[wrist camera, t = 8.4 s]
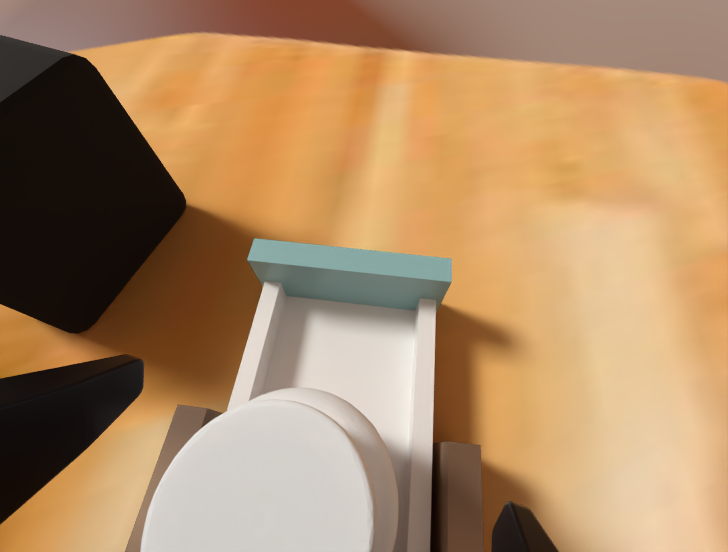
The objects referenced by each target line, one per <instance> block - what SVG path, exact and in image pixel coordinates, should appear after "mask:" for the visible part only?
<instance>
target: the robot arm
mask: <svg viewBox="0 0 728 552" xmlns="http://www.w3.org/2000/svg"><path fill="white" fill-rule="evenodd" d="M143 382H144V362H143V360H141V359H140V358H137V357H134V356H132V355H128V354H125V355H120V356H115V357H109V358H104V359H99V360H94V361H89V362H84V363H78V364H73V365H68V366H63V367H58V368H53V369H47V370H42V371H37V372H32V373H27V374H22V375H17V376H11V377H6V378H1V379H0V525H1V524H2V523H3V522H4V521H5V520H6V519H7V518H9V517H10V516H11V515H12V514H13V513H14V512H15V511H17V510H18V509H19V508H20V507H21V506H22V505H23V504H25V503H26V502H27V501H28V500H29V499H30V498H31V497H33V496H34V495H35V494H36V493H37V492H38V491H39V490H41V489H42V488H43V487H44V486H45V485H46V484H47V483H49V482H50V481H51V480H52V479H53V478H54V477H55V476H57V475H58V474H59V473H60V472H61V471H62V470H63V469H65V468H66V467H67V466H68V465H69V464H70V463H71V462H73V461H74V460H75V459H76V458H77V457H78V456H79V455H80V454H82V453H83V452H84V451H85V450H86V449H87V448H88V447H89V446H90V445H91V444H92V443H93V442H94V441H95V440H96V439H97V438H98V437H99V436H100V435H101V434H102V433H103V432H104V431H105V430H106V429H107V428H108V427H109V426H110V425H111V424H112V423H113V422H114V421H115V420H116V419H117V418H118V417H119V416H120V415H121V414H122V413H123V412H124V411H125V409H126V408H127V407H128V406H129V405H130V404H131V403H132V402H133V401H134V400H135V399H136V398H137V397H138V396H139V395H140V393H141V391H142V389H143ZM492 552H559V551H558V549H557V548H556V547H555V545H554V544H553V542H552V541H551V539H550V538H549V536H548V535H547V533H546V532H545V530H544V529H543V527H542V526H541V524H540V523H539V522H538V520H537V519H536V517H535V516H534V514H533V513H532V511H531V510H530V509H529V508H527V507H525V506H523V505H520V504H518V503H515V502H512V501H508V502H507V503H506V504H505V506H504V508H503V510H502V512H501V514H500V516H499V518H498V520H497V522H496V524H495V526H494V528H493V533H492Z"/></svg>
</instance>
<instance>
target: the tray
mask: <svg viewBox="0 0 728 552" xmlns="http://www.w3.org/2000/svg"><path fill="white" fill-rule="evenodd" d="M247 261H248V263H249V264H250V266H251V268H252V269H253V271H254V273H255V274H256V276H257V278H258V279H259V281H260V283H261V284H262V286H263V289H262V293H261V296H260V300H259V303H258V306H257V310H256V313H255V317H254V320H253V323H252V327H251V330H250V334H249V337H248V340H247V344H246V347H245V351H244V354H243V357H242V361H241V364H240V368H239V371H238V374H237V378H236V381H235V385H234V388H233V391H232V395H231V398H230V402H229V405H228V408H227V411H229V410H232V409H234V408H236V407H239V406H242V405H243V404H245V403H247V402H248V401H250V400H252V399H254V398H256V397H258V396H261V395H263V394H266V393H269V392H272V391H276V390H281V389H287V388H312V389H317V390H322V391H325V392H328V393H331V394H334V395H336V396H338V397H340V398H342V399H344V400H346V401H347V402H349V403H350V404H352V405H353V406H354V407H355V408H357V409H358V410H359V411H360V412H361V413H362V414H364V415H365V417H366V418H367V419H368V420H369V421H370V422H371V423H372V424H373V425H374V427H375V428H376V430H377V432H378V433H379V435H380V436H381V438H382V440H383V441H384V443H385V446H386V448H387V450H388V453H389V455H390V458H391V461H392V465H393V468H394V471H395V476H396V481H397V489H398V526H397V534H396V539H395V544H394V548H393V552H430V530H431V489H432V447H433V406H434V365H435V323H436V312H437V310H438V308H439V306H440V304H441V302H442V300H443V298H444V296H445V294H446V292H447V290H448V288H449V286H450V284H451V282H452V259H450V258H440V257H431V256H421V255H411V254H402V253H392V252H382V251H372V250H363V249H353V248H343V247H334V246H324V245H314V244H305V243H295V242H285V241H276V240H266V239H256V238H254V241H253V244H252V247H251V250H250V253H249V256H248V259H247Z"/></svg>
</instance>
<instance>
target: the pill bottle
mask: <svg viewBox="0 0 728 552" xmlns="http://www.w3.org/2000/svg"><path fill="white" fill-rule="evenodd" d="M397 526H398V489H397V481H396V476H395V471H394V468H393V465H392V461H391V458H390V455H389V453H388V450H387V448H386V446H385V443H384V441H383V440H382V438H381V436H380V435H379V433H378V432H377V430H376V428H375V427H374V425H373V424H372V423H371V422H370V421H369V420H368V419H367V418H366V417H365V415H364V414H362V413H361V412H360V411H359V410H358V409H357V408H355V407H354V406H353V405H352V404H350V403H349V402H347V401H346V400H344V399H342V398H340V397H338V396H336V395H334V394H331V393H328V392H325V391H322V390H317V389H312V388H287V389H281V390H276V391H272V392H269V393H266V394H263V395H261V396H258V397H256V398H254V399H252V400H250V401H248V402H247V403H245V404H243V405H242V406H239V407H236V408H234V409H232V410H229V411H227V412H225V413H223V414H221V415H220V416H218V417H216V418H215V419H213V420H212V421H210V422H209V423H208V424H206V425H205V426H204V427H203V428H201V429H200V430H199V431H198V432H197V433H195V435H194V436H193V437H192V438H191V439H190V440H189V441H188V442H187V443H186V444H185V445H184V446H183V448H182V449H181V450H180V451H179V452H178V454H177V455H176V456H175V457H174V459H173V461H172V462H171V464H170V465H169V467H168V469H167V470H166V472H165V473H164V475H163V477H162V479H161V481H160V483H159V485H158V487H157V489H156V491H155V493H154V496H153V498H152V501H151V504H150V506H149V509H148V513H147V517H146V521H145V525H144V530H143V535H142V541H141V551H140V552H393V548H394V544H395V539H396V534H397Z"/></svg>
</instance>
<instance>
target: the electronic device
mask: <svg viewBox="0 0 728 552" xmlns="http://www.w3.org/2000/svg"><path fill="white" fill-rule="evenodd" d="M185 207H186V200H185V197H184V194H183V193H182V192H181V190H180V189H179V187H178V186H177V184H176V183H175V181H174V180H173V179H172V177H171V176H170V174H169V173H168V171H167V170H166V168H165V167H164V166H163V164H162V163H161V161H160V160H159V158H158V157H157V155H156V154H155V153H154V151H153V150H152V148H151V147H150V145H149V144H148V142H147V141H146V139H145V138H144V137H143V135H142V134H141V132H140V131H139V129H138V128H137V126H136V125H135V124H134V122H133V121H132V119H131V118H130V116H129V115H128V113H127V112H126V111H125V109H124V108H123V106H122V105H121V103H120V102H119V100H118V99H117V98H116V96H115V95H114V93H113V92H112V90H111V89H110V87H109V86H108V85H107V83H106V82H105V80H104V79H103V77H102V76H101V74H100V73H99V72H98V70H97V69H96V67H94V66H93V65H92V64H91V63H90V62H89V61H88V60H87V59H86V58H83V57H80V56H78V55H75V54H71V53H67V52H63V51H60V50H56V49H52V48H48V47H44V46H40V45H36V44H33V43H28V42H25V41H21V40H17V39H14V38H10V37H6V36H2V35H0V304H2V305H4V306H7V307H9V308H11V309H14V310H16V311H18V312H21V313H23V314H26V315H28V316H30V317H33V318H35V319H38V320H40V321H42V322H45V323H47V324H50V325H52V326H54V327H57V328H59V329H62V330H64V331H66V332H69V333H80V332H83V331H85V330H88V329H89V328H90V327H91V326H92V325H93V324H94V323H95V322H96V321H97V320H98V319H99V317H100V316H101V315H102V314H103V312H104V311H105V310H106V309H107V307H108V306H109V305H110V304H111V302H112V301H113V300H114V299H115V297H116V296H117V295H118V294H119V292H120V291H121V290H122V289H123V287H124V286H125V285H126V284H127V283H128V281H129V280H130V279H131V278H132V276H133V275H134V274H135V273H136V271H137V270H138V269H139V268H140V266H141V265H142V264H143V263H144V261H145V260H146V259H147V258H148V256H149V255H150V254H151V253H152V251H153V250H154V249H155V248H156V246H157V245H158V244H159V243H160V242H161V240H162V239H163V238H164V237H165V235H166V234H167V233H168V232H169V230H170V229H171V228H172V227H173V225H174V224H175V223H176V222H177V220H178V219H179V218H180V217H181V215H182V214H183V212H184V210H185Z"/></svg>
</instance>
